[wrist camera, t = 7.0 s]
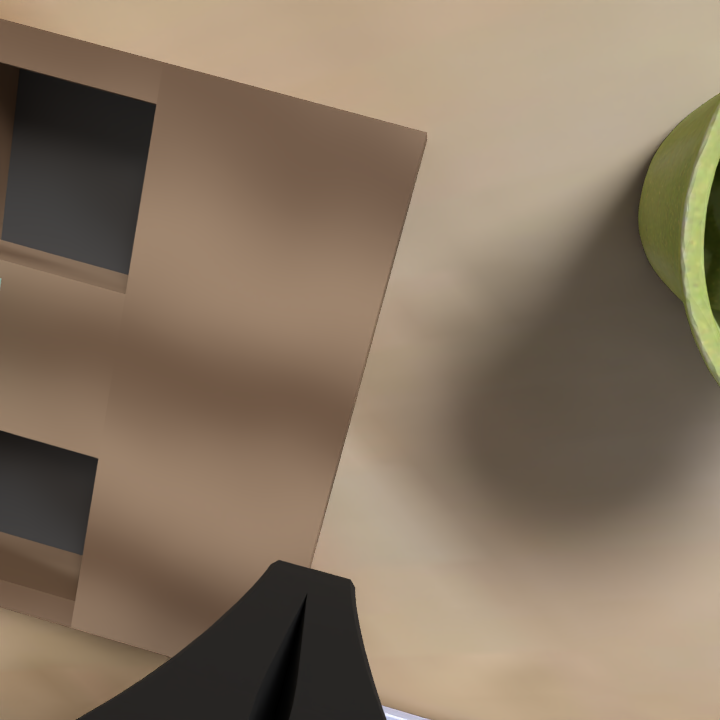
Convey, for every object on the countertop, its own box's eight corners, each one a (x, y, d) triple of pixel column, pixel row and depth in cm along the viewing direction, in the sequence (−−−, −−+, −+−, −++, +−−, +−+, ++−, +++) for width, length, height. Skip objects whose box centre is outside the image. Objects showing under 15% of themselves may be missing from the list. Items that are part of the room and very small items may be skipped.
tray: (291, 636, 23) (260, 739, 19) (-140, 510, 24) (-268, 582, 19) (427, 139, 19) (426, 125, 14) (-110, -4, 19) (-269, -61, 15)
